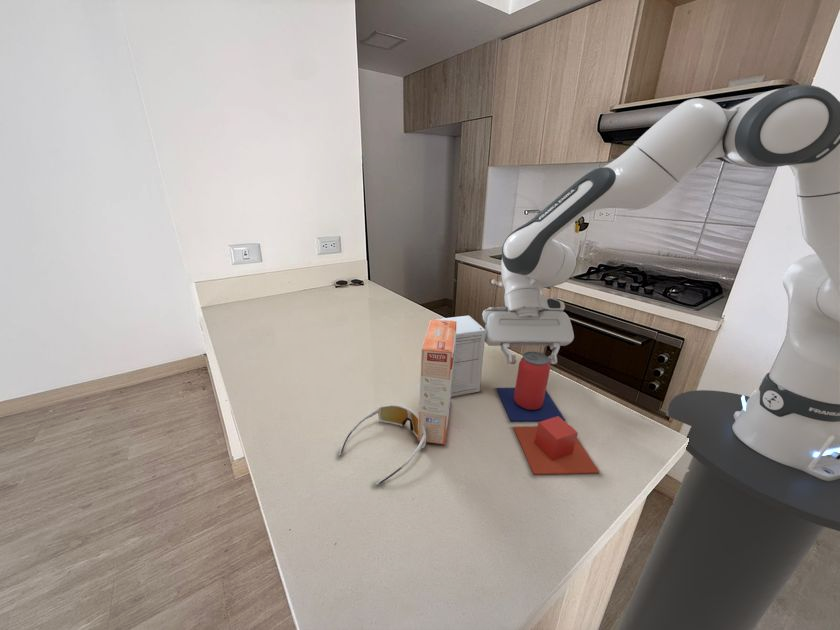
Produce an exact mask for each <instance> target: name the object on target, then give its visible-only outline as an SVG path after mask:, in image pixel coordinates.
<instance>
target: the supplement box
mask: <svg viewBox="0 0 840 630" xmlns="http://www.w3.org/2000/svg"><path fill="white" fill-rule="evenodd" d="M435 319H436V320H449V321H456V322H457V323H456V345H455V357H454V369H453V380H452V390H451V398H452V397H458V396H463V395H468V394H473V393H479V392H480V391H481V381H482V371H483V362H484V361H483V360H484V351H485V344H486V342H485V333H486V330H485V327H483V326H482V325H481V324H479V322H477V321H476V320H475V319H474V318H473V317H471V316H470V315H469V314H468V315H461V316H452V317H444V318H435Z"/></svg>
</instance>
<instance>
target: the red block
mask: <svg viewBox="0 0 840 630" xmlns="http://www.w3.org/2000/svg"><path fill="white" fill-rule="evenodd" d="M537 422H538V423H537V426H536V427H537V432H536V437H535V443H536V444H537V445H538V446H539V447H540V448H541V449H542V450H543V451H544V452H545V453H546V454H547V455H548V456H549V457H550V458H551V459H552V460H555V459H558V458H560V457H563V456H566V455H569V454H571V453H573V450H574V446H575V442H576V438H577V439H578V434H579V432H578V431H577V430H576V429H575V428H573V427H572V426H571V425H570V424H568V423H567V422H566V420H565V421H564V420H562V419H561V418H560V417H559V416H557V417H554V418H550V419H547V420H544V421H537Z"/></svg>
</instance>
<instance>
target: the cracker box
mask: <svg viewBox="0 0 840 630" xmlns="http://www.w3.org/2000/svg"><path fill="white" fill-rule="evenodd" d="M436 319H437V318H435V319H434V318H430V319H429V324H428V327H427V329H426V333H425V336H424V340H423V343H422V347H421V353H420V354H421V355H420V357H421V358H420V374H419V375H420V377H419V399H418V401H419V402H418V415H419V418H418V438H417V442H420V441H421V439H422V437H423V428H422V425H424V427H425V431H426V443H428V444H436V445H443V446H445V445H446V440H447V433H448V424H449V416H450V408H451V399H452V397H451V390H452V380H453V369H454V357H455V345H456V323H457V322H456V321H449V320H436Z"/></svg>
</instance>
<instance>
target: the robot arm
mask: <svg viewBox="0 0 840 630" xmlns="http://www.w3.org/2000/svg"><path fill="white" fill-rule="evenodd" d="M714 159H716V160H719V161H721V162H724V163H727V164H732V165H735V166H739V167H744V168H759V167H760V168H777V167H778V168H779V167H784V166H785V167H786V166H788V167H789V168H790V170H791V171H792V174H793V177H794V179H795V180H794V181H795V192H796V198H797V206H798V213H799V219H800V220H799V221H800V227H801V235H802V237H803V240H804V241H805V242H806V244H807V245H808V246H809V247H810V248H811V249H812V250H813V251H814V253H811V254H808V255H805V256H803V257H802V258H799V259H797V260H796V261H794V262H792V264H791V265H790V266H789V267H788V268H787V269H786V271H785V273H784V275H783V277H782V285H783V288H784V290H785V292H786V296H787V302H788V305H787V307H788V309H787V322H786V324H787V325H786V329H785V330H786V331H785V336H784V340H783V343H782V346H781V348H780V350H779V353H778V355H777V357H776V359H775V361H774V362H773V363H774V364H773V366H772V368H771V369H770V371H769V372H767V373H766V374H765V376H764V377H763V378H762V379H761V382H760V385H759V387H758V389H755V390H754V391H753V392H752V393H751V395H750V396H749V397H750V398H749V399H748V401H747V402H745V397H744V396H745V395H744V394H741V395H742V398H741V399H742V404H743V409H742V410H741V411H736V412H735V414H734V419H735V422H734V424H733V425H732V429H733V432H734V433H735V435H736V436H737V437H738V438H739V439H740V440H741V441H742V442H743V443H745V444H746V445H747V446H749V447H750V448H752V449H753V450H755V451H756V452H758V453H760V454H762V455H763V456H765V457H767V458H769V459H772V460H774V461H776V462H779V463H781V464H784V465H787V466H790V467H793V468H796V469H799V470H802V471H804V472H806V473H808V474H810V475H813V476H815V477H817V478H819V479H822V480H825V481H832V480H836V479H840V100H839V99H838V98H837V97H836V96H835V95H834V94H833V93H831V92H830V91H828V90H826V89H825V88H822V87H820V86H816V85H810V84H795V85H790V86H785V87H783V88H782V87H781V88H776V89H771V90H768V91H764V92H762V93H760V94H757V95H755V96H754V97H752V98H750V99H747V100H744V101H742V102H739V103H736V104H734V105H732V106H730V107H727V108H723V107H721V106H720V105H719V104H718V103H717V102H715V101H713V100H710V99H706V98H700V97H697V98H690V99H687V100H684V101H683V102H681V103H680V104H678V105H677V106H676V107H674V108H673V109H671V110H670V111H669V112H667V114H665V115H664V116H662V117H661V118H660V119H659V120H658V121H656V122H655V123H654V124H653V125H652V126H650V128H649V129H647V130H646V131H645V132H644V133H643V134H642V135H641V136H639V138H638V139H636V141H634V142H633V144H632V145H631V146H630V147H629V148H627V149H626V150H625V151H624V152H623V153H622V154H620V155H619V156H618V157H617V158H616V159H613V160H612V161H611V162H609V163H608V164H606V165H604V166H602V167H598V168H595V169H593V170H591V171H589V172H588V173H586V174H585V175H583V176H581V178H579V179H578V180H576V181H575V182H574V183H572V185H571V186H569V187H568V188H567V189H565V190H564V191H563V192H561V194H560V195H558V197H556V198H555V199H554V200H553V201H552V202H550V203H549V204H548V205H547V206H545V207H544V208H543V209H542V210H541V211H540V212H539V213H537V214H536V215H535V216H534V217H532V219H530V220H528V222H527V221H526V223H524V224H523V225H521V226H519V227H517V228H516V229H514V230H513V231H512V232H511V233H509V235H508V236H506V239H504V242H503V244H502V248H501V262H500V272H501V273H500V274H501V275H500V276H501V282H502V283H501V284H502V286H503V288H504V295H503V298H504V299H503V300H504V306H497V307H494V306H490V307H487V308H486V309H484V310H483V311H482V315H481V316H482V321H483V324H484V329H485V330H486V333H485V344H486V345H487V346H491V347H492V346H493V347H495V346H498V347H500V351H501V352H502V354H503V355H504V356H505V357H506V363H507V365H515V364H517V359H516V354H512V352H511V351H510V350H509V348H510V347H513V346H514V347H524V346H525V347H549V349H550V350H551V354H549V355H548V356H547V357H548V358H549V364H550V365H556V364H558V356H557V355H558V354H559V351H560V348H561V347H565V346H568V345H570V344H571V343H572V342H573V341H574V339H575V335H574V334H575V333H574V329H573V325H572V322H571V319H570V317H569V315H568V314H567V313H566V312H565V311H564V310H565V309H566V305H565V302H564V301H562V300H560V299H556V298H553V297H549V296H547V295H544V294H542V290H543V289H547V288H552V287H556V286H560V285H562V284H564V283H566V282H567V281H569V280H570V279H571V278H572V276H573V275H574V273H575V271H576V270H577V266H578V258H577V254H576V252H575V250H574V249H572V248H570V247H569V246H567V245H566V244H563V243H562V242H561V241H558V240H556V239H555V238H557V237H558V236H559V235H560V234H562V233H563V232H564V231H565V230H566V229H568V228H570V226H572V225H573V224H574V223H576V222H577V221H578V220H579V219H580V218H582V217H583V216H585V215H587V214H589V213H591V212H595V211H598V210H599V211H600V210H609V209H610V210H611V209H615V210H623V211H634V210H641V209H646V208H649V207H650V206H652V205H653V204H655V203H657V202H658V201H660V200H661V199H663V198H664V197H665V196H666V195H668V194H669V193H670V192H671V191H672V190H674V188H676V187H677V186H678V185H679V184H681V183H682V182H683V180H685V179H686V178H687V177H688V176H689V175H690V174H691V173H692V172H694V170H696V169H697V168H700V167H701V166H702V165H704V164H706V163H707V162H709V161H712V160H714ZM743 395H744V396H743Z"/></svg>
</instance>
